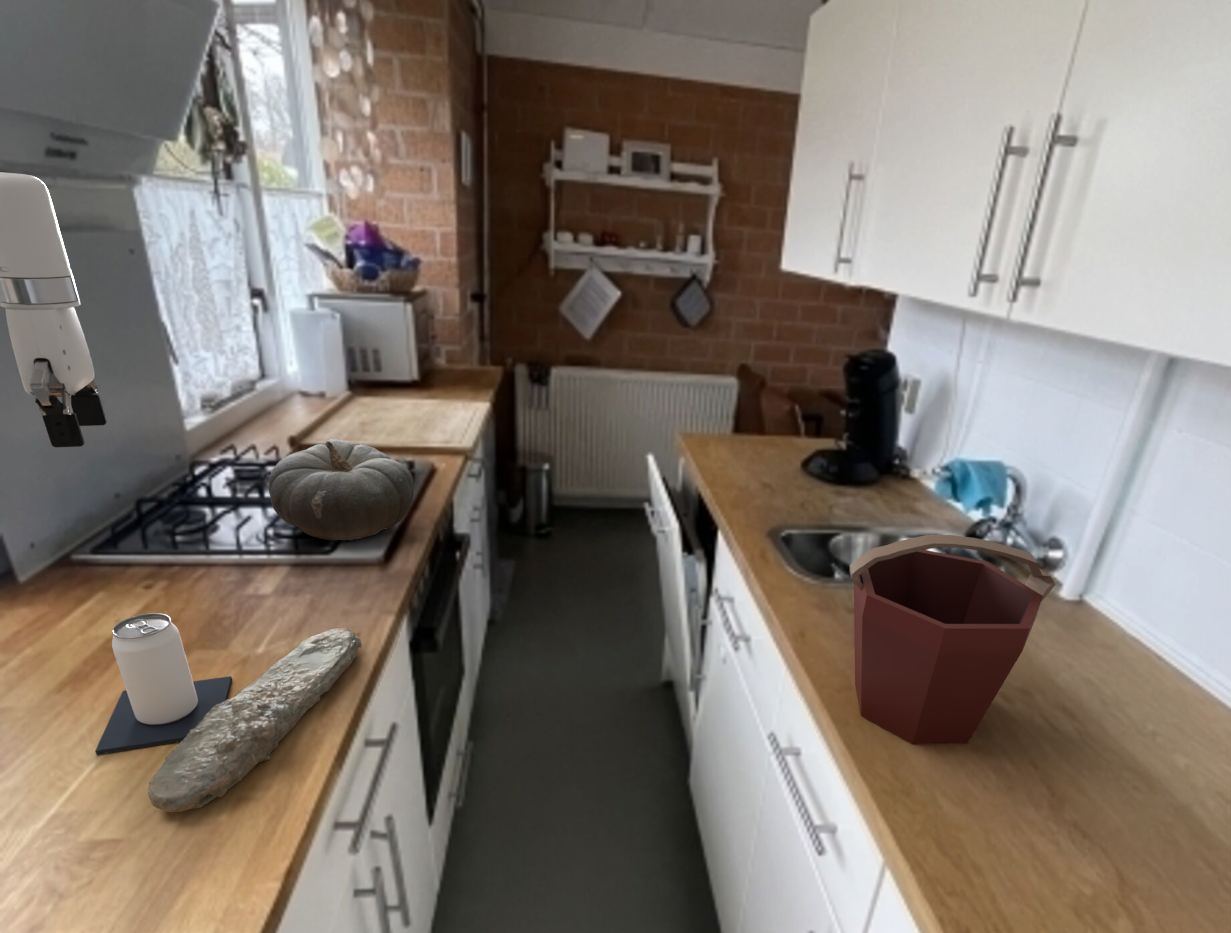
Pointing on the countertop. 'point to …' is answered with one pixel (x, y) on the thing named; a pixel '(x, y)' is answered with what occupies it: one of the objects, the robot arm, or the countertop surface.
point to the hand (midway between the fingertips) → (81, 435)
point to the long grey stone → (250, 723)
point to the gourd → (341, 490)
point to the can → (154, 668)
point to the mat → (135, 734)
